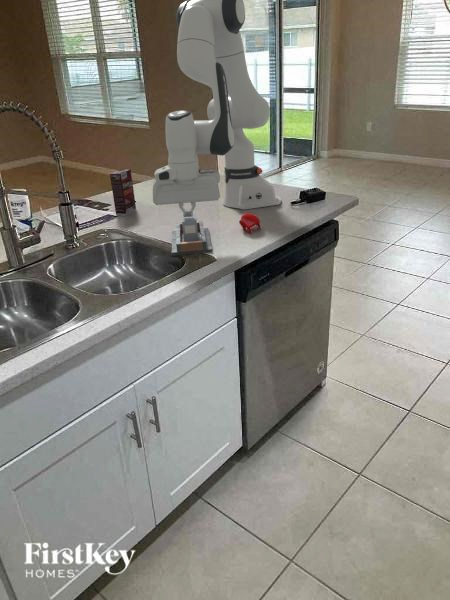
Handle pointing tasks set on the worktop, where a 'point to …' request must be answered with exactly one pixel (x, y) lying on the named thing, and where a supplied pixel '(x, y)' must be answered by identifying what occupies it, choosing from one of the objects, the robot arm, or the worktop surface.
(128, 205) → the supplement box
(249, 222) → the red toy chair
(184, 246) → the grey tray
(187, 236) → the block
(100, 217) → the worktop surface
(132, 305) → the worktop surface
